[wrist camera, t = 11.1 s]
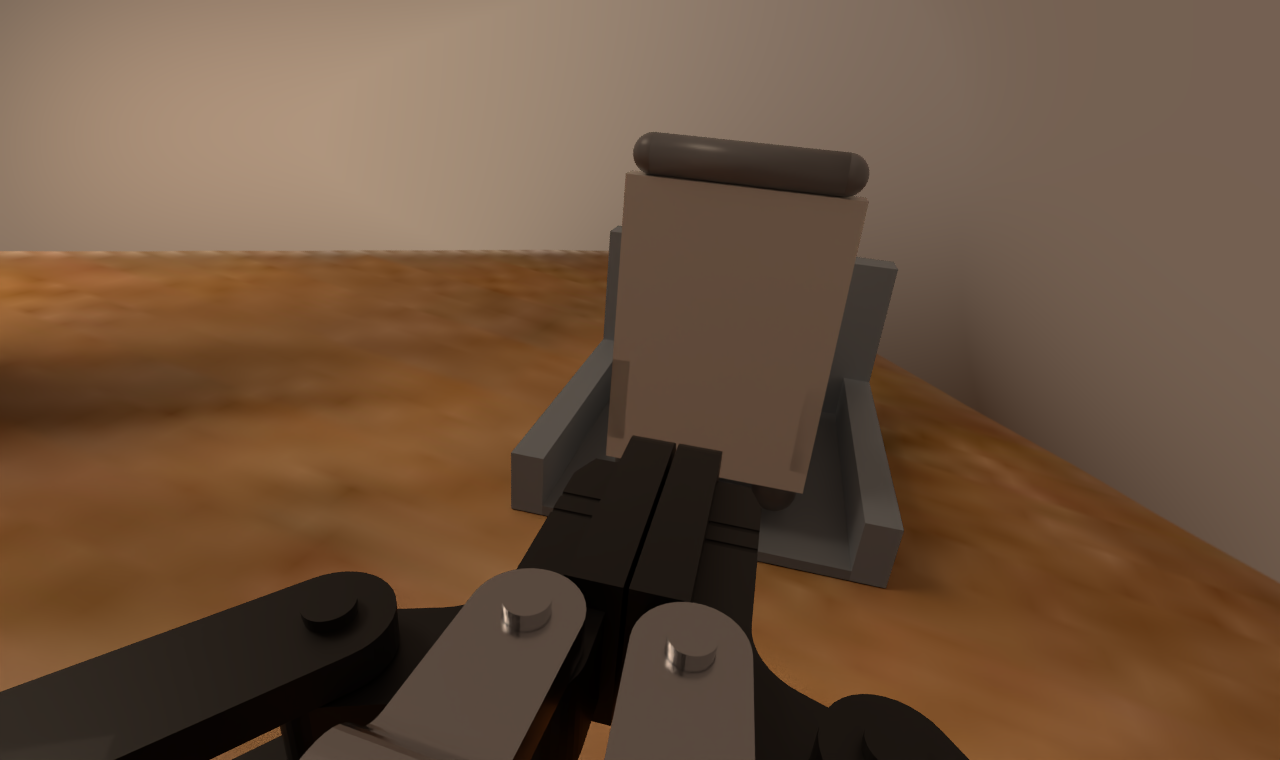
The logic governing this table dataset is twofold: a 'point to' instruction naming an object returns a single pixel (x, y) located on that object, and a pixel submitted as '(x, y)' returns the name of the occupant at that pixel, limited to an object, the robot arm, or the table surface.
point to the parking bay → (793, 537)
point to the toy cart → (733, 301)
